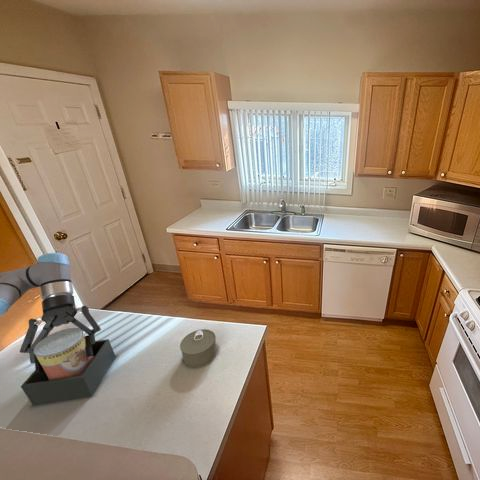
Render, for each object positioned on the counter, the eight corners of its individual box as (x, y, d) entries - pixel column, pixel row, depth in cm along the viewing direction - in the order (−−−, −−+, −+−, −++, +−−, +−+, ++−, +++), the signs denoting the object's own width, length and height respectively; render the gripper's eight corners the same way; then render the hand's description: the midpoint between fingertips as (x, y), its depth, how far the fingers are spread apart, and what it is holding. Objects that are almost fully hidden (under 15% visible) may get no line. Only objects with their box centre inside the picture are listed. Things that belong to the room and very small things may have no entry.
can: (181, 371, 90) (177, 357, 87) (185, 346, 100) (182, 332, 97) (217, 363, 94) (214, 349, 91) (218, 339, 104) (215, 326, 101)
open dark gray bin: (33, 405, 77) (20, 386, 74) (66, 363, 91) (57, 345, 87) (92, 396, 81) (82, 377, 77) (115, 356, 94) (108, 339, 91)
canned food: (62, 389, 77) (47, 360, 72) (40, 376, 80) (24, 348, 76) (103, 360, 87) (91, 333, 82) (81, 350, 90) (69, 324, 85)
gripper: (105, 289, 94) (115, 348, 89) (13, 311, 82) (18, 381, 76) (99, 284, 88) (110, 347, 83) (-1, 307, 76) (3, 383, 70)
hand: (66, 364), depth 80 cm, fingers closed on canned food, 11 cm apart
